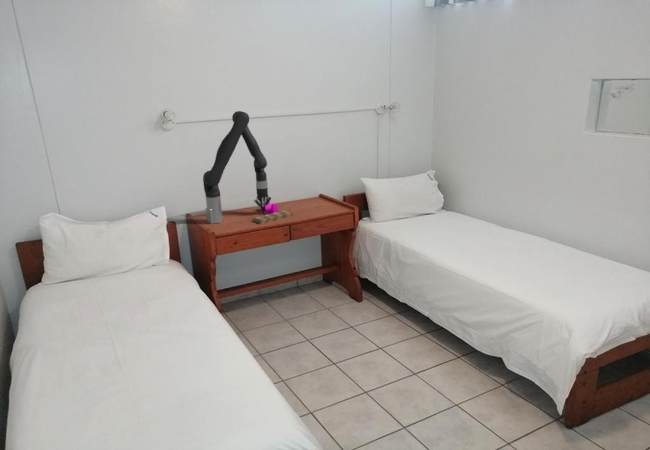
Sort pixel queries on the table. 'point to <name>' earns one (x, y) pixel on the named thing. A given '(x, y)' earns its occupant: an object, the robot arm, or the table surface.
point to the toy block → (271, 208)
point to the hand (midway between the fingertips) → (263, 211)
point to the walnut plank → (272, 217)
